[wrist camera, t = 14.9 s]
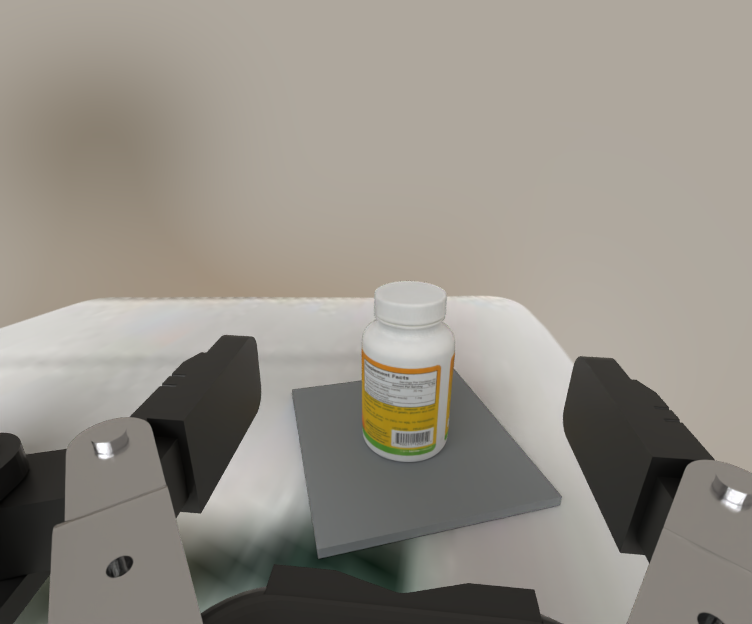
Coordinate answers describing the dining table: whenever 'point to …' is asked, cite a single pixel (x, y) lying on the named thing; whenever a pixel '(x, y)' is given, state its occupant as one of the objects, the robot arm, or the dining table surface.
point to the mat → (408, 473)
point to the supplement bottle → (407, 372)
